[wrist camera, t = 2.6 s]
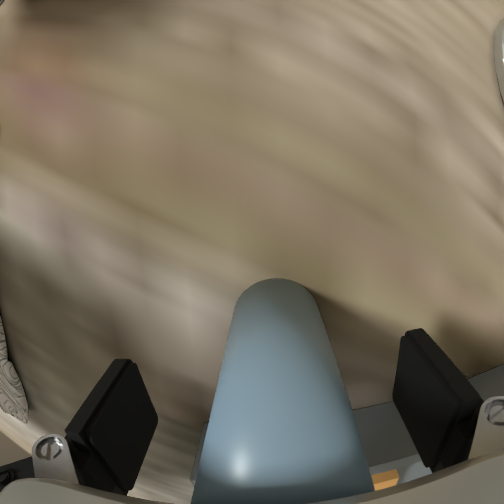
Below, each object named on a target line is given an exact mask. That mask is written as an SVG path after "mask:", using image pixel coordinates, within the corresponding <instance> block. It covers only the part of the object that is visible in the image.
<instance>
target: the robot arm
mask: <svg viewBox="0 0 504 504" xmlns="http://www.w3.org/2000/svg"><path fill="white" fill-rule="evenodd" d="M494 57H495V65H496V73H497V77H498V82H499V87H500V92H501V95H502V99H503V103H504V19H503V20H502V21H501V22H500V24H499V25H498V27H497V29H496V34H495V38H494ZM393 401H394V404H395V406H396V408H397V410H398V412H399V414H400V416H401V418H402V420H403V422H404V424H405V426H406V428H407V430H408V432H409V434H410V436H411V439H412V441H413V443H414V445H415V447H416V449H417V451H418V454H419V456H420V458H421V460H422V462H423V465H424V466H425V467H426V468H428V467H429V468H430V470H431V472H432V474H429V475H426V476H423V477H420V478H417V479H414V480H411V481H408V482H405V483H401V484H398V485H395V486H391V487H388V488H384V489H380V490H376V491H373V492H368V493H364V494H360V495H355V496H350V497H345V498H340V499H334V500H328V501H322V502H314V503H307V504H504V397H502V396H495V397H491V398H489V399H487V400H486V401H485V402H484V400H483V399H482V398H481V396H480V395H479V393H478V392H477V391H476V390H475V388H474V387H473V386H472V385H471V384H470V382H469V381H468V380H467V379H466V377H465V376H464V375H463V374H462V373H461V372H460V370H459V369H458V368H457V367H456V366H455V365H454V363H453V362H452V361H451V360H450V359H449V358H448V356H447V355H446V354H445V353H444V352H443V351H442V350H441V348H440V347H439V346H438V345H437V344H436V343H435V342H434V341H433V340H432V338H431V337H430V336H429V335H428V334H427V333H426V332H425V331H424V330H423V329H422V328H419V329H414V330H410V331H407V332H406V333H405V336H402V337H401V341H400V349H399V357H398V364H397V371H396V377H395V383H394V389H393ZM157 423H158V416H157V413H156V411H155V409H154V407H153V404H152V402H151V400H150V397H149V395H148V392H147V390H146V387H145V385H144V382H143V380H142V377H141V375H140V372H139V369H138V367H137V365H136V364H135V363H133V362H132V361H131V360H130V359H115V360H114V361H113V362H112V364H111V365H110V366H109V368H108V369H107V370H106V372H105V373H104V375H103V376H102V377H101V379H100V380H99V382H98V383H97V384H96V386H95V387H94V389H93V390H92V391H91V393H90V394H89V396H88V397H87V399H86V400H85V401H84V403H83V404H82V406H81V407H80V409H79V410H78V412H77V413H76V414H75V416H74V417H73V419H72V420H71V422H70V423H69V425H68V426H67V428H66V429H65V432H66V434H67V435H66V437H65V438H64V437H63V436H61V435H58V434H48V435H45V436H43V437H41V438H39V439H38V440H37V441H36V442H35V443H34V445H33V448H32V457H28V458H26V459H23V460H19V461H16V462H13V463H10V464H7V465H4V466H1V467H0V504H173V503H165V502H158V501H151V500H145V499H140V498H135V497H130V496H127V493H128V491H129V490H132V489H133V487H134V484H135V482H136V479H137V476H138V473H139V471H140V468H141V465H142V463H143V460H144V458H145V455H146V452H147V450H148V447H149V444H150V442H151V439H152V437H153V434H154V432H155V429H156V426H157Z"/></svg>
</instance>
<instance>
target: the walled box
mask: <svg viewBox="0 0 504 504" xmlns="http://www.w3.org/2000/svg"><path fill="white" fill-rule="evenodd" d="M467 380H468V381H469V382H470V384H471V385H472V386H473V387H474V388H475V390H476V391H477V392H478V393H479V395H480V396H481V398H482V399H483V400H484V402H485V401H486V400H487V399H489V398H491V397H495V396H502V397H504V364H502V365H500V366H498V367H496V368H493V369H491V370H488V371H486V372H484V373H481V374H479V375H476V376H473V377H471V378H468V379H467ZM352 412H353V415H354V418H355V421H356V425H357V428H358V431H359V435H360V438H361V441H362V445H363V448H364V452H365V455H366V459H367V462H368V466H369V469H370V473H371V475H375V474H379V473H383V472H387V471H390V470H394V469H397V472H398V475H399V479H398V481H397V484H396V485H398V484H401V483H405V482H408V481H411V480H414V479H417V478H420V477H423V476H426V475H429V474H432V472H431V470H430V468H429V467H428V468H426V467H425V466H424V465H423V462H422V460H421V458H420V456H419V454H418V451H417V449H416V447H415V445H414V443H413V441H412V439H411V436H410V434H409V432H408V430H407V428H406V426H405V424H404V422H403V420H402V418H401V416H400V414H399V412H398V410H397V408H396V406H395V404H394V401H393V402H389V403H385V404H381V405H376V406H372V407H367V408H362V409H357V410H352ZM207 428H208V423H204V424H203V428H202V433H201V437H200V441H199V445H198V449H197V453H196V458H195V462H194V466H193V470H192V474H191V479H190V480H191V482H192V484H193V486H194V487H195V482H196V477H197V473H198V468H199V464H200V459H201V455H202V450H203V446H204V441H205V437H206V432H207Z"/></svg>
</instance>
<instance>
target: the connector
mask: <svg viewBox="0 0 504 504" xmlns="http://www.w3.org/2000/svg"><path fill="white" fill-rule="evenodd" d="M373 491H375V488H374V484H373V480H372V477H371V473H370V469H369V466H368V462H367V459H366V455H365V452H364V448H363V445H362V441H361V438H360V435H359V431H358V428H357V425H356V421H355V418H354V415H353V412H352V408H351V405H350V402H349V399H348V396H347V392H346V389H345V386H344V383H343V380H342V377H341V374H340V371H339V368H338V365H337V362H336V359H335V356H334V353H333V350H332V347H331V344H330V341H329V338H328V335H327V332H326V329H325V326H324V323H323V321H322V318H321V315H320V312H319V309H318V306H317V304H316V301H315V299H314V298H313V296H312V295H311V293H310V292H309V291H308V290H307V289H306V288H304V287H303V286H302V285H300V284H298V283H296V282H294V281H291V280H287V279H278V278H276V279H267V280H263V281H260V282H258V283H256V284H254V285H252V286H250V287H249V288H248V289H247V290H245V291H244V292H243V294H242V295H241V296H240V297H239V299H238V301H237V303H236V305H235V308H234V313H233V317H232V322H231V326H230V330H229V335H228V339H227V344H226V348H225V352H224V357H223V361H222V366H221V370H220V375H219V379H218V383H217V388H216V392H215V397H214V401H213V406H212V410H211V415H210V419H209V423H208V428H207V432H206V437H205V441H204V446H203V450H202V455H201V459H200V464H199V468H198V473H197V477H196V482H195V487H194V491H193V496H192V500H191V504H307V503H314V502H322V501H328V500H334V499H340V498H345V497H350V496H355V495H360V494H364V493H368V492H373Z"/></svg>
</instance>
